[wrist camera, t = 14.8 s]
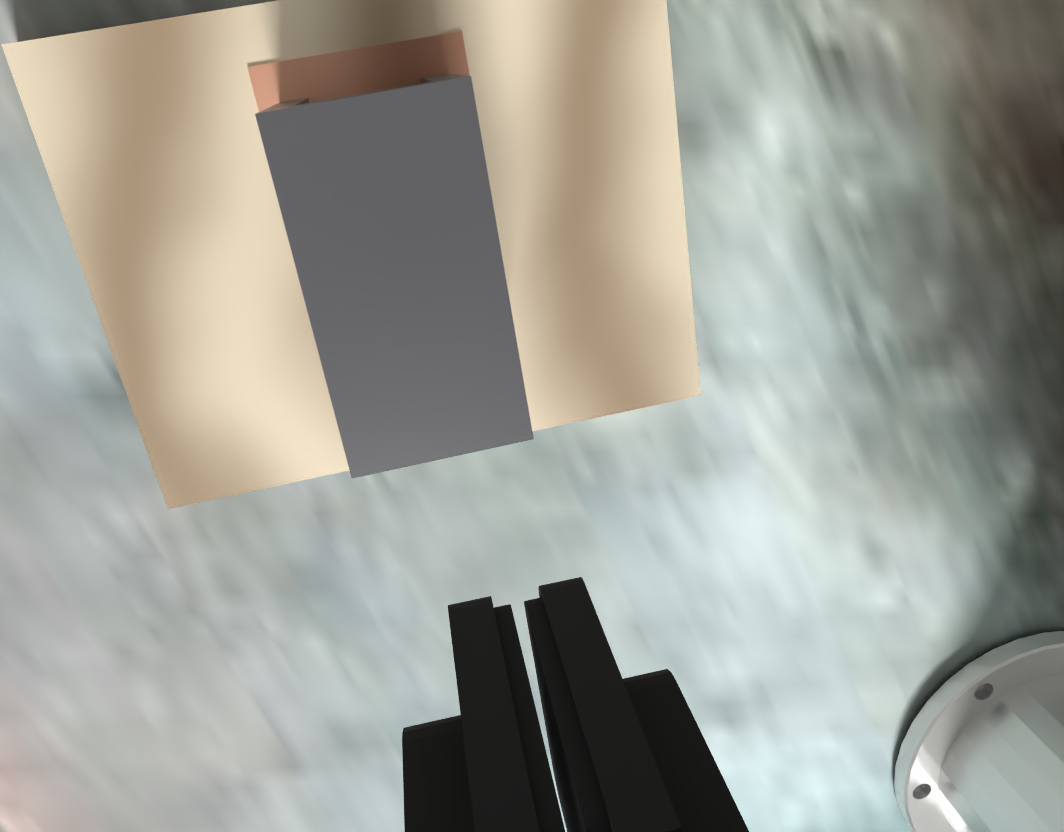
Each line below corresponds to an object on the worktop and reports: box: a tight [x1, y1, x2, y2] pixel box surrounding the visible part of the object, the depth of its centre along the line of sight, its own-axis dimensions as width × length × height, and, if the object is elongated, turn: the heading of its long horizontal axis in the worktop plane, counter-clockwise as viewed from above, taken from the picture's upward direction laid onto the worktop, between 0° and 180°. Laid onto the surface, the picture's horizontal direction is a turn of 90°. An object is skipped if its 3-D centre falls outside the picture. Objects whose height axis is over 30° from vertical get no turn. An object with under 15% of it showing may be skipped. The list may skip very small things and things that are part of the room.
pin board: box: [2, 0, 701, 509], centre depth 26 cm, size 18×14×4 cm
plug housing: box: [255, 73, 534, 478], centre depth 24 cm, size 5×9×6 cm, turn 9°
